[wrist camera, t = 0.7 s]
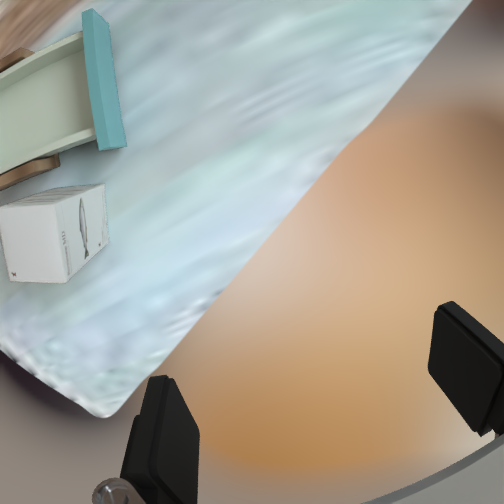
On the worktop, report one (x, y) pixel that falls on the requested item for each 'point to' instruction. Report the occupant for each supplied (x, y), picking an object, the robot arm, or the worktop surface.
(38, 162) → the organizer
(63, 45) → the tray
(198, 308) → the worktop surface
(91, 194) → the supplement box
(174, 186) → the worktop surface
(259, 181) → the worktop surface
